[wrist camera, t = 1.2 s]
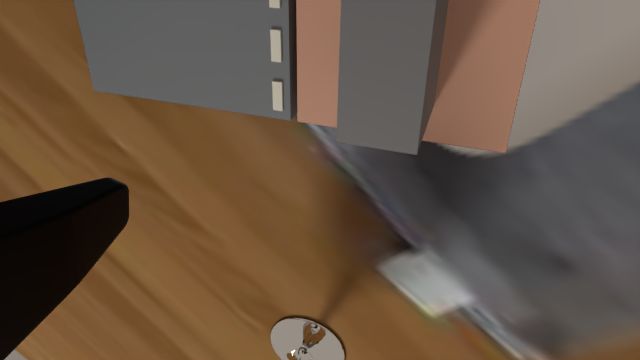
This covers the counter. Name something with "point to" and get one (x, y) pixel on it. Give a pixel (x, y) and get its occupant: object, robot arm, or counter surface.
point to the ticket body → (195, 52)
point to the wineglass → (305, 341)
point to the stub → (413, 70)
